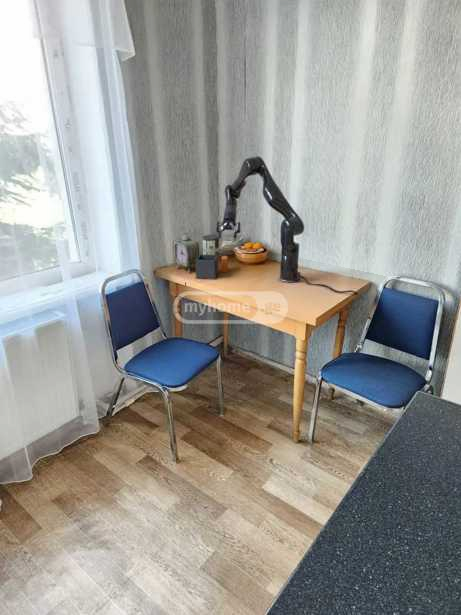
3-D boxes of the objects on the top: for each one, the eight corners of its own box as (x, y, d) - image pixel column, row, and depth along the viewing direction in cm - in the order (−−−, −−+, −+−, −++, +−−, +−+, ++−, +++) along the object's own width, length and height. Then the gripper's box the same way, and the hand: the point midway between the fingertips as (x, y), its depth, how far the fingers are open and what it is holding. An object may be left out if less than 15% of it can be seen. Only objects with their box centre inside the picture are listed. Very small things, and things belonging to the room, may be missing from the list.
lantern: (214, 255, 255) (214, 234, 249) (222, 259, 247) (221, 237, 241) (200, 258, 250) (199, 236, 244) (207, 262, 242) (206, 239, 236)
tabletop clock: (173, 268, 232) (171, 226, 221) (186, 265, 237) (184, 223, 227) (188, 274, 222) (186, 230, 212) (201, 270, 228) (199, 228, 217)
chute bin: (218, 273, 224) (217, 255, 220) (214, 279, 215) (214, 260, 210) (200, 272, 225) (199, 254, 221) (196, 278, 216) (195, 260, 212)
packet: (227, 269, 230) (227, 256, 227) (226, 272, 226) (226, 258, 222) (222, 269, 230) (222, 255, 227) (221, 271, 226) (220, 258, 223)
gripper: (217, 210, 234) (214, 234, 229) (241, 211, 233) (238, 235, 227) (219, 217, 241) (216, 240, 236) (242, 218, 239) (239, 241, 234)
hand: (227, 238), depth 231 cm, fingers open, 8 cm apart
